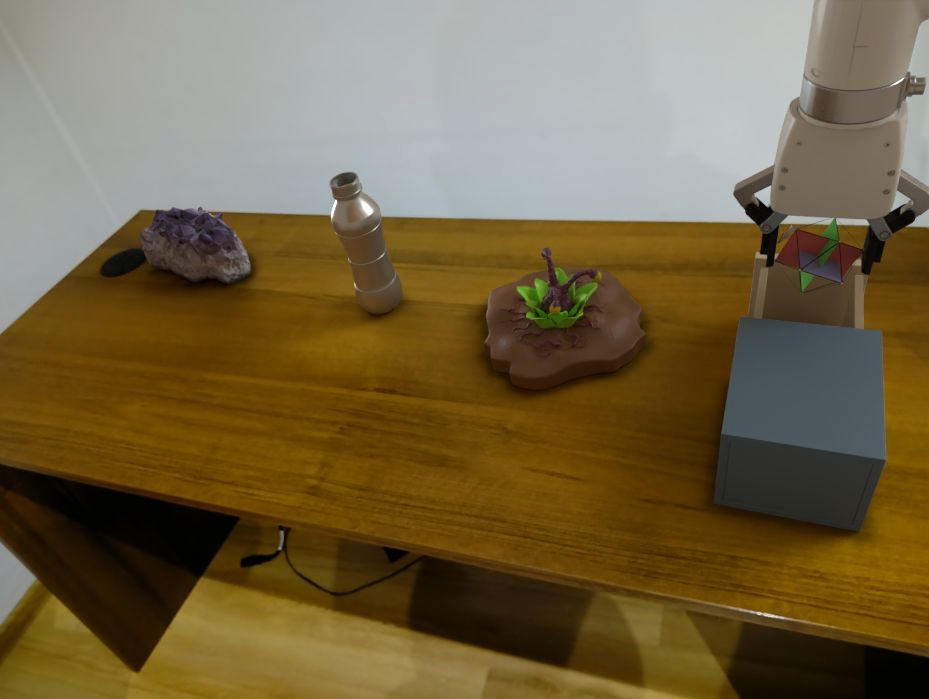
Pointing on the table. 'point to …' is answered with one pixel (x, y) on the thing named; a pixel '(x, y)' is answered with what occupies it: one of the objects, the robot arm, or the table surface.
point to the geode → (195, 246)
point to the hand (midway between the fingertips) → (816, 261)
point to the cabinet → (803, 422)
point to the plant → (562, 326)
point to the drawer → (807, 296)
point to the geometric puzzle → (818, 255)
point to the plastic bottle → (364, 245)
